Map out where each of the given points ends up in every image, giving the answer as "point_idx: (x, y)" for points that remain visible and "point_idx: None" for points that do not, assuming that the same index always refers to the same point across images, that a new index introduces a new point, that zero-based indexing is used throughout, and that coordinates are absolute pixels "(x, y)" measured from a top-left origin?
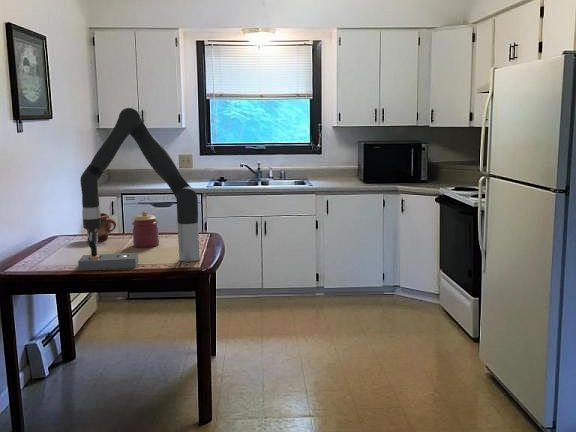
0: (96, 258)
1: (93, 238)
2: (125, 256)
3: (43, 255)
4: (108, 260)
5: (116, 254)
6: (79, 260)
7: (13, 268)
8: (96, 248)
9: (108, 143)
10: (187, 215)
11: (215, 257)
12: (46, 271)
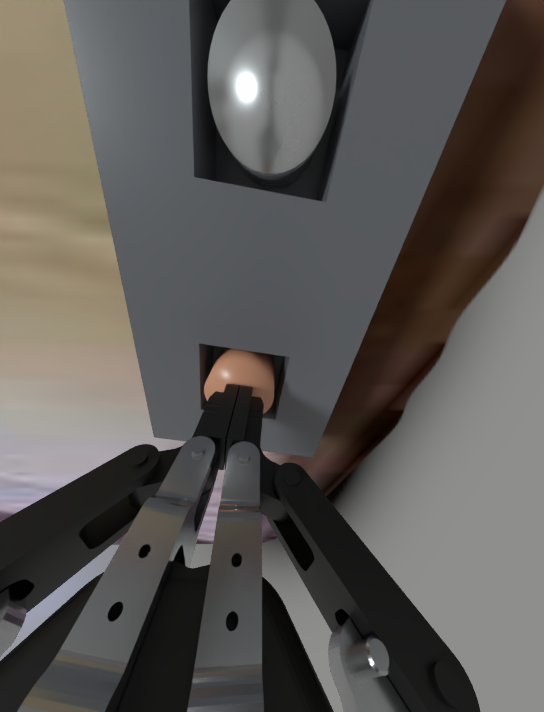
0: (272, 376)
1: (477, 705)
2: (303, 30)
3: (32, 496)
4: (380, 291)
5: (152, 192)
6: (289, 452)
7: (202, 535)
8: (223, 428)
9: None
10: None
11: None
12: None
